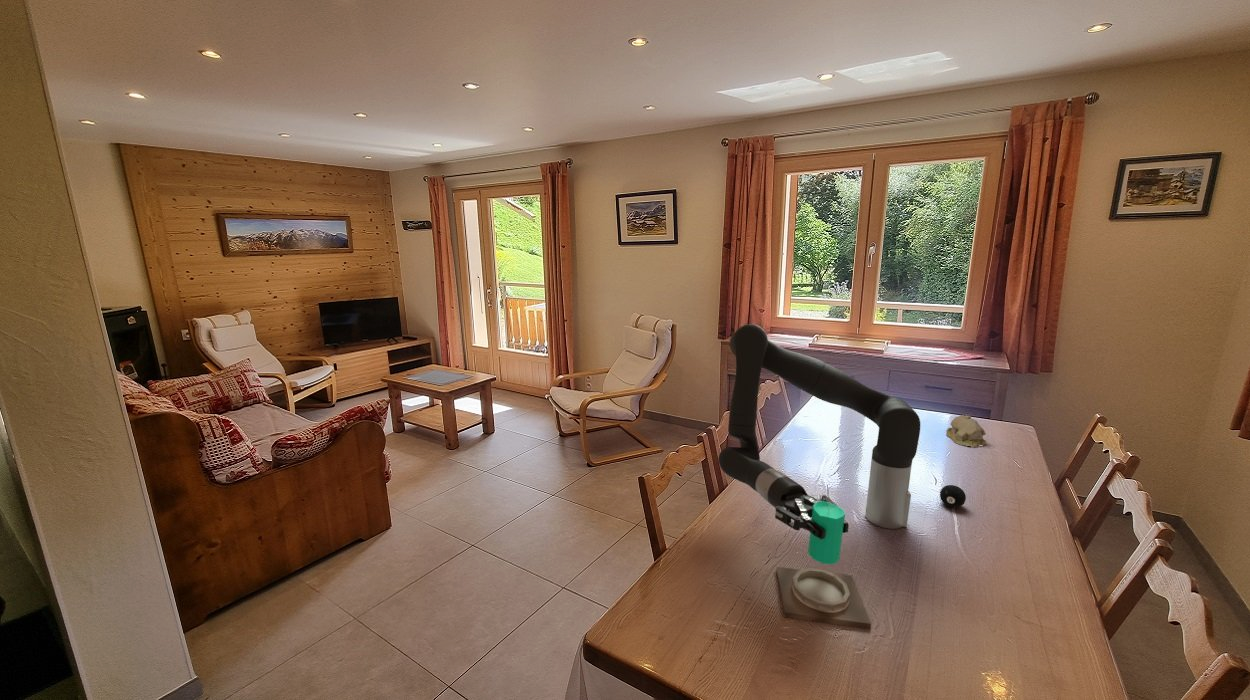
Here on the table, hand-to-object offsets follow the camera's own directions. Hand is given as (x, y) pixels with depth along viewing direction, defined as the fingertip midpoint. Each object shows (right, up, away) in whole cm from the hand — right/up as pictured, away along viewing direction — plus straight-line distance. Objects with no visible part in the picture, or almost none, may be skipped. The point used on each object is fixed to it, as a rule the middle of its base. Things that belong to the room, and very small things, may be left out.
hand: (835, 531), depth 94 cm
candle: (-1, -6, +4) cm, 8 cm away
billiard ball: (+51, -8, +41) cm, 66 cm away
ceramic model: (+87, +2, +86) cm, 122 cm away
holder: (-1, -16, +6) cm, 17 cm away
